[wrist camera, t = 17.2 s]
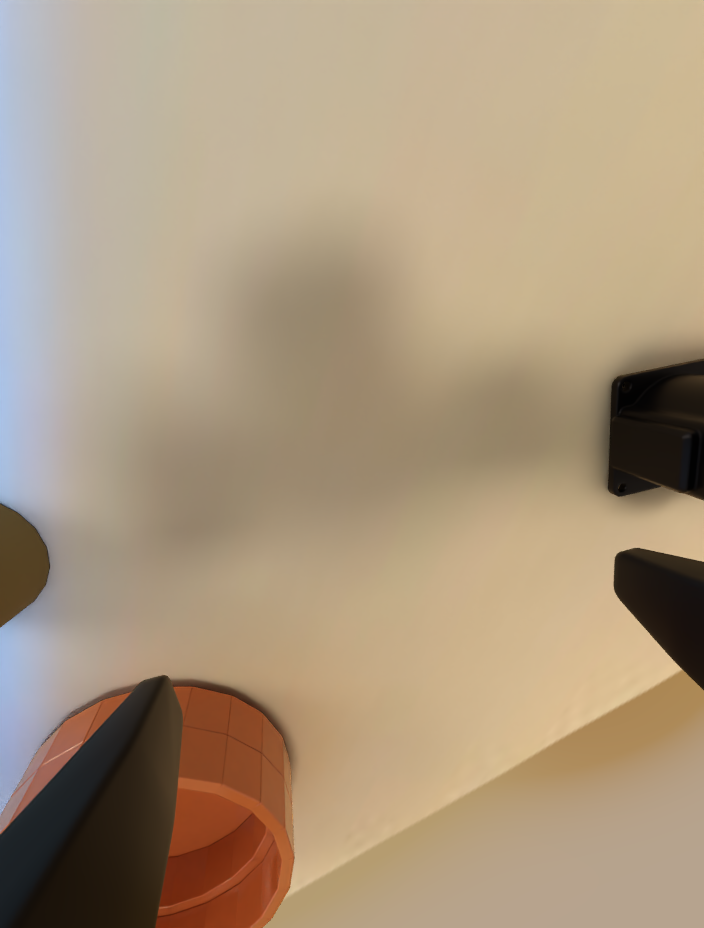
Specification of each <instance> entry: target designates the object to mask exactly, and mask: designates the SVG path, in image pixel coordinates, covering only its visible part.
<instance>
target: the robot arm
mask: <svg viewBox="0 0 704 928" xmlns="http://www.w3.org/2000/svg"><path fill="white" fill-rule="evenodd" d="M624 383H625V386H624V388H622V386H623V384H624ZM619 485H620V487H619ZM661 486H662V487H665V488H668V489H671V490H673V491H676V492H679V493H685V494H687V495H690V496H693V497H696V498H698V499H701V500H704V359H700V360H695V361H690V362H685V363H680V364H675V365H670V366H665V367H660V368H656V369H651V370H646V371H641V372H636V373H631V374H626V375H621V376H619V377H617V378H616V379H615V380H614V382H613V383H612V392H611V421H610V449H609V478H608V489H609V492H610V493H612V494H614V495H617V496H625V495H629V494H633V493H637V492H641V491H645V490H649V489H653V488H657V487H661ZM618 487H619V488H618ZM614 590H615V593H616V595H617V597H618V598H619V599H620V601H621V602H622V603H623V604H624V605H625V606H626V607H627V609H628V610H629V611H630V612H631V613H632V614H633V615H634V616H635V618H636V619H637V620H638V621H639V622H640V623H641V624H642V625H643V627H644V628H645V629H646V630H647V631H648V632H649V633H650V635H651V636H652V637H653V638H654V639H655V640H656V641H657V642H658V644H659V645H660V646H661V647H662V648H663V649H664V650H665V652H666V653H667V654H668V655H669V656H670V657H671V658H672V659H673V660H674V661H675V662H676V663H677V664H678V665H679V666H680V667H681V668H682V669H683V670H684V671H685V672H686V673H687V674H688V675H689V676H690V677H691V678H692V679H693V680H694V681H695V682H696V683H697V684H698V685H699V686H700V687H701V688H702V689H703V690H704V562H701V561H697V560H692V559H687V558H683V557H678V556H673V555H669V554H664V553H659V552H655V551H650V550H645V549H641V548H633V549H629V550H625V551H622V552H619V553H618V554H617V555H616V557H615V564H614ZM182 729H183V714H182V709H181V706H180V703H179V701H178V698H177V696H176V693H175V690H174V688H173V685H172V683H171V680H170V679H169V677H168V676H165V675H162V676H158V677H154V678H151V679H147V680H144V681H142V682H141V683H140V684H139V685H138V686H137V687H136V688H135V689H134V690H133V691H132V692H131V693H130V694H129V696H128V697H127V698H126V699H125V700H124V701H123V702H122V703H121V704H120V705H119V706H118V707H117V709H116V710H115V711H114V712H113V713H112V714H111V715H110V716H109V717H108V718H107V719H106V720H105V722H104V723H103V724H102V725H101V726H100V727H99V728H98V729H97V730H96V731H95V732H94V733H93V735H92V736H91V737H90V738H89V739H88V740H87V741H86V742H85V743H84V744H83V745H82V746H81V748H80V749H79V750H78V751H77V752H76V753H75V754H74V755H73V756H72V757H71V758H70V759H69V761H68V762H67V763H66V764H65V765H64V766H63V767H62V768H61V769H60V770H59V771H58V772H57V774H56V775H55V776H54V777H53V778H52V779H51V780H50V781H49V782H48V783H47V784H46V785H45V787H44V788H43V789H42V790H41V791H40V792H39V793H38V794H37V795H36V796H35V797H34V798H33V800H32V801H31V802H30V803H29V804H28V805H27V806H26V807H25V808H24V809H23V810H22V811H21V813H20V814H19V815H18V816H17V817H16V818H15V819H14V820H13V821H12V822H11V823H10V824H9V826H8V827H7V828H6V829H5V830H4V831H3V832H2V833H1V834H0V928H155V927H156V921H157V916H158V910H159V905H160V899H161V894H162V888H163V883H164V877H165V872H166V866H167V861H168V855H169V850H170V844H171V839H172V833H173V826H174V820H175V810H176V800H177V788H178V776H179V765H180V753H181V741H182Z"/></svg>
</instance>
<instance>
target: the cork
mask: <svg viewBox="0 0 704 928" xmlns="http://www.w3.org/2000/svg"><path fill="white" fill-rule="evenodd" d="M49 568H50V566H49V560H48V554H47V549H46V546H45V545H44V543H43V541H42V539H41V538H40V536H39V534H38V533H37V531H36V529H35V528H34V527H33V526H31V525H30V524H29V523H28V522H27V521H26V520H25V519H24V518H23V517H22V516H20V515H19V514H18V513H17V512H15V511H13V510H11V509H9V508H7V507H5V506H3V505H1V504H0V627H2V626H3V625H4V624H5V623H7V622H8V621H9V620H11V619H12V618H13V617H14V616H16V615H17V614H18V613H19V612H21V611H22V610H23V609H25V608H26V607H27V606H28V605H30V604H31V603H32V602H34V600H35V599H36V598H37V596H38V595H39V594H40V592H41V591H42V589H43V588H44V587H45V585H46V581H47V576H48V572H49Z"/></svg>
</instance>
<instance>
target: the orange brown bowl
mask: <svg viewBox="0 0 704 928" xmlns="http://www.w3.org/2000/svg"><path fill="white" fill-rule="evenodd" d="M173 688H174V690H175V693H176V696H177V698H178V701H179V703H180V706H181V709H182V714H183V729H182V741H181V753H180V765H179V776H178V788H177V800H176V810H175V820H174V826H173V833H172V839H171V844H170V850H169V855H168V861H167V866H166V872H165V877H164V883H163V888H162V894H161V899H160V905H159V910H158V916H157V921H156V927H155V928H263V927H264V926H265V925H266V924H267V923H268V922H269V921H270V920H271V918H273V916H274V914H275V912H276V911H277V909H278V907H279V906H280V904H281V902H282V901H283V899H284V897H285V896H286V894H287V892H288V890H289V888H290V883H291V877H292V871H293V864H294V858H295V857H294V835H293V813H292V790H291V768H290V761H289V758H288V754H287V751H286V747H285V744H284V740H283V738H282V736H281V734H280V733H279V732H278V731H277V730H276V729H275V727H274V726H273V725H272V724H271V723H270V721H269V720H268V719H267V718H266V717H265V715H264V714H262V712H260V711H259V710H257V709H255V708H253V707H252V706H250V705H248V704H246V703H245V702H243V701H241V700H239V699H238V698H236V697H234V696H231V695H228V694H223V693H219V692H215V691H210V690H206V689H202V688H197V687H191V686H185V687H173ZM130 693H131V692H129V693H126V694H122V695H118V696H115V697H111V698H107V699H105V700H102V701H100V702H98V703H96V704H94V705H93V706H91V707H89V708H87V709H86V710H84V711H82V712H80V713H79V714H77V715H75V716H73V717H72V718H70V719H68V720H66V721H65V722H64V723H63V724H62V725H61V726H60V727H59V728H58V729H57V730H56V731H55V732H54V733H53V734H52V735H51V737H50V738H49V739H48V740H47V741H46V742H45V743H44V744H43V745H42V746H41V747H40V748H39V749H38V751H37V752H36V754H35V756H34V758H33V759H32V761H31V763H30V765H29V766H28V768H27V770H26V772H25V773H24V775H23V777H22V779H21V780H20V782H19V784H18V785H17V787H16V789H15V791H14V792H13V794H12V796H11V798H10V800H9V801H8V803H7V805H6V806H5V808H4V810H3V812H2V813H1V815H0V834H1V833H2V832H3V831H4V830H5V829H6V828H7V827H8V826H9V824H10V823H11V822H12V821H13V820H14V819H15V818H16V817H17V816H18V815H19V814H20V813H21V811H22V810H23V809H24V808H25V807H26V806H27V805H28V804H29V803H30V802H31V801H32V800H33V798H34V797H35V796H36V795H37V794H38V793H39V792H40V791H41V790H42V789H43V788H44V787H45V785H46V784H47V783H48V782H49V781H50V780H51V779H52V778H53V777H54V776H55V775H56V774H57V772H58V771H59V770H60V769H61V768H62V767H63V766H64V765H65V764H66V763H67V762H68V761H69V759H70V758H71V757H72V756H73V755H74V754H75V753H76V752H77V751H78V750H79V749H80V748H81V746H82V745H83V744H84V743H85V742H86V741H87V740H88V739H89V738H90V737H91V736H92V735H93V733H94V732H95V731H96V730H97V729H98V728H99V727H100V726H101V725H102V724H103V723H104V722H105V720H106V719H107V718H108V717H109V716H110V715H111V714H112V713H113V712H114V711H115V710H116V709H117V707H118V706H119V705H120V704H121V703H122V702H123V701H124V700H125V699H126V698H127V697H128V696H129V694H130Z"/></svg>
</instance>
